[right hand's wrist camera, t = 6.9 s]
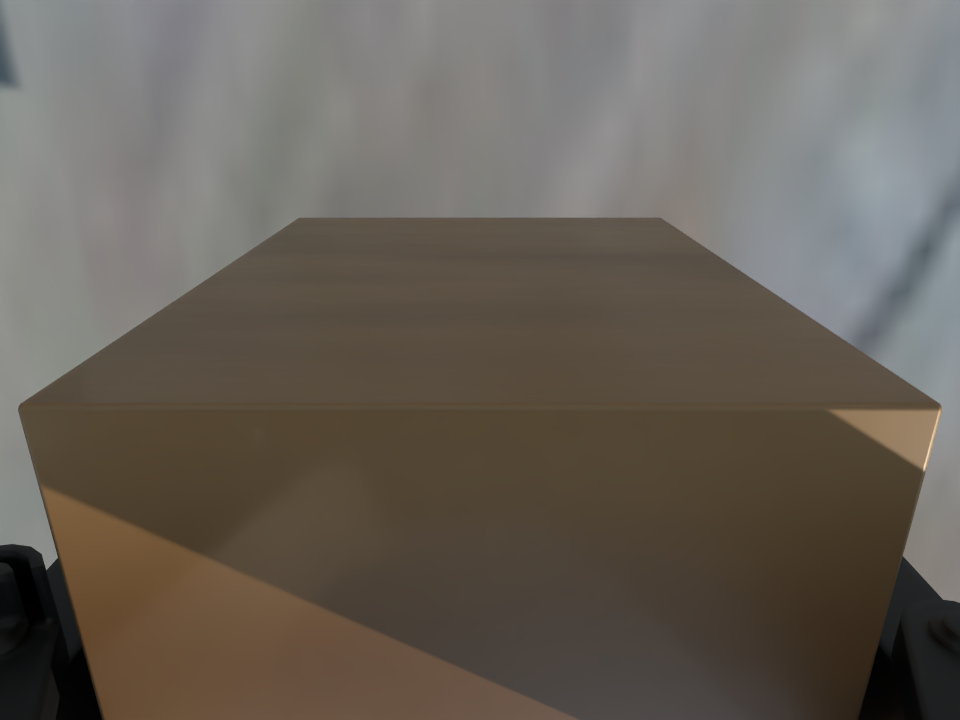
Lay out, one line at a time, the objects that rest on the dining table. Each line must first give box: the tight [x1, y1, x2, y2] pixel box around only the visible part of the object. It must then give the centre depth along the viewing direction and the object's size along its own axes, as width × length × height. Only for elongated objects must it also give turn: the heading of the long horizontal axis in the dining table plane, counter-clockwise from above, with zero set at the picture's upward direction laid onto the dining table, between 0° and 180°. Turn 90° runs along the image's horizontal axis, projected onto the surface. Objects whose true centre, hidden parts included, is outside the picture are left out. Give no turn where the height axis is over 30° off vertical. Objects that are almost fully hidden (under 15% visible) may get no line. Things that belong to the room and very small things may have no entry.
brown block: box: [18, 218, 942, 720], centre depth 11 cm, size 8×8×9 cm
